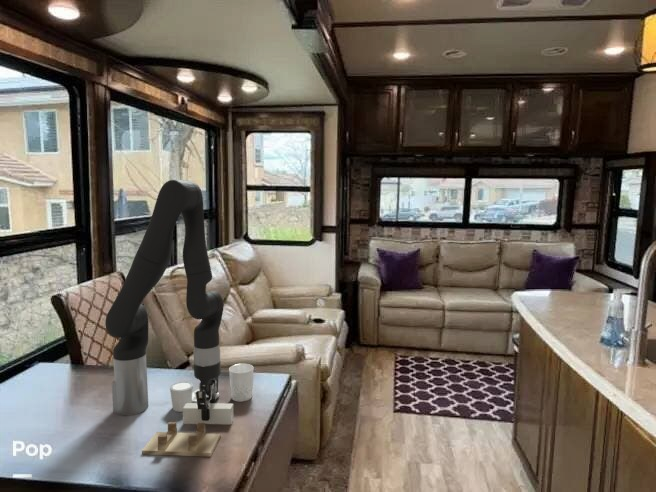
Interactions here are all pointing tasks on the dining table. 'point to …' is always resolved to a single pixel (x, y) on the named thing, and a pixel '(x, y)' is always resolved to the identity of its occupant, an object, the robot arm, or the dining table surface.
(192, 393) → the rose
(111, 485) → the dining table surface
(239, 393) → the white cup
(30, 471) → the dining table surface
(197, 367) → the robot arm
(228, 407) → the white rectangular block
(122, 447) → the dining table surface
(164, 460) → the dining table surface
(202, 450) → the rack
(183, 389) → the white short tapered cylinder
